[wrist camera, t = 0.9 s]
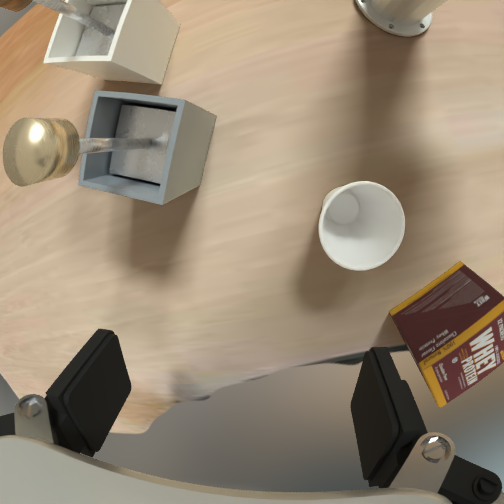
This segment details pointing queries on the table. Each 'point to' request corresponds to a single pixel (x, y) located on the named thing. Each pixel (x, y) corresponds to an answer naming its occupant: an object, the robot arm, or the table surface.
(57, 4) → the bronze knobbed rod
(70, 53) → the white open box
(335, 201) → the cup
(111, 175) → the grey open box
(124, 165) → the brass knobbed plunger
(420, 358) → the supplement box
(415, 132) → the table surface
